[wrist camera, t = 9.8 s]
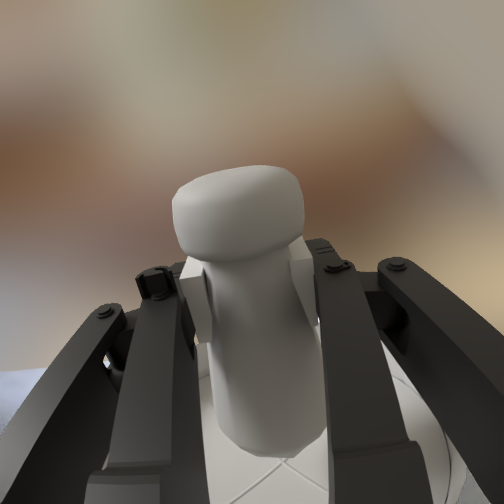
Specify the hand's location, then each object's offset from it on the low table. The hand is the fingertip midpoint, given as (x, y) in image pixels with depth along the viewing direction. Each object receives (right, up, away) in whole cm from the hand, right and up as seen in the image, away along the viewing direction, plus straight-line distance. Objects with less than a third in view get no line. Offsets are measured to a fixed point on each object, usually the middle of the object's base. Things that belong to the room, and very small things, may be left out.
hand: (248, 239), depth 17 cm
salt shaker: (+2, -10, -2) cm, 10 cm away
